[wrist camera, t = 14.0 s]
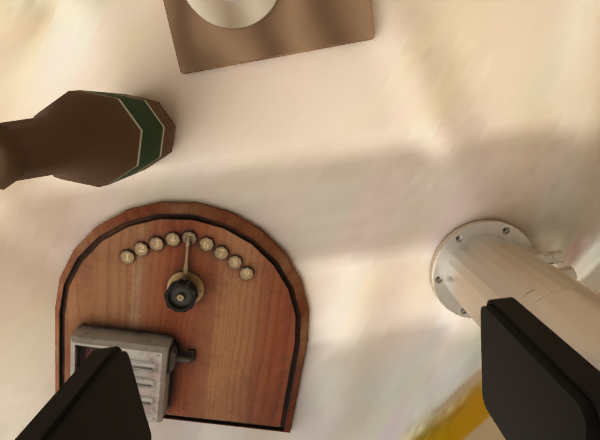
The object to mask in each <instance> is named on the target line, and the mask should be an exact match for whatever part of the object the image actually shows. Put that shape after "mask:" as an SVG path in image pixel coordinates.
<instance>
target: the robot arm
mask: <svg viewBox="0 0 600 440" xmlns="http://www.w3.org/2000/svg"><path fill="white" fill-rule="evenodd" d="M457 236H458V238H456V237H457ZM564 260H565V256H564V254H563V252H562V251H560V250H558V251H552V252H548V253H544V254H542V253H541V252H539V251H537V250H535V249H534V248H533V246H532V244H531V242H530V241H529V239H528V238H527V236H526V235H524V234H523V233H522V232H521V231H520V230H519V229H517V228H515V227H513V226H512V225H509V224H507V223H505V222H502V221H497V220H479V221H473V222H471V223H468V224H465V225H463V226H461V227H459V228H458V229H456V230H454V231H453V232H452V233H451V234H449V235H448V236H447V237H446V238H445V239H444V240H443V241H442V243H441V244H440V245H439V247H438V248H437V250H436V252H435V254H434V256H433V259H432V262H431V268H430V281H431V285H432V289H433V291H434V293H435V295H436V296H437V298H438V299H439V300H440V302H441V303H442V304H443V305H444V306H445V307H446V308H447V309H449V310H450V311H452V312H453V313H455V314H457V315H460V316H462V317H467V318H472V319H473V320H474V321H475V322H476V323H477V325H478V326H479V327H480V328H481V354H482V394H483V400H484V404H485V406H486V409H487V410H488V412H489V414H490V415H491V417H492V418H493V420H494V422H495V423H496V425H497V426H498V428H499V430H500V431H501V433H502V434H503V436H504V437H505V439H506V440H600V293H598V292H596V291H595V290H593V289H591V288H590V287H588V286H586V285H585V284H583V283H581V282H580V281H578V280H576V279H577V276H576V272H575V270H574V269H573V268H572V267H570V266H566V267H560V268H556V267H554V266H553V265H551V264H554V263H560V262H563V261H564ZM437 277H438V278H437ZM15 440H151V432H150V428H149V425H148V421H147V418H146V414H145V411H144V407H143V404H142V400H141V397H140V393H139V389H138V386H137V382H136V379H135V375H134V372H133V368H132V365H131V361H130V358H129V355H128V353H127V352H126V351H122V349H121V348H120V347H118V346H115V347H107V348H99V349H95V350H93V351H92V352H91V354H90V355H89V356H88V357H87V358H86V359H85V360H84V362H83V363H82V364H81V365H80V366H79V367H78V368H77V369H76V371H75V372H74V373H73V374H72V375H71V376H70V377H69V379H68V380H67V381H66V382H65V383H64V384H63V385H62V387H61V388H60V389H59V390H58V391H57V392H56V393H55V395H54V396H53V397H52V398H51V399H50V400H49V401H48V403H47V404H46V405H45V406H44V407H43V408H42V409H41V411H40V412H39V413H38V414H37V415H36V416H35V417H34V418H33V420H32V421H31V422H30V423H29V424H28V425H27V426H26V428H25V429H24V430H23V431H22V432H21V433H20V434H19V436H18V437H17V438H16V439H15Z"/></svg>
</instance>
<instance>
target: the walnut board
mask: <svg viewBox="0 0 600 440" xmlns="http://www.w3.org/2000/svg"><path fill="white" fill-rule="evenodd" d="M163 1H164V5H165V9H166V13H167V18H168V22H169V26H170V30H171V34H172V38H173V42H174V47H175V51H176V55H177V59H178V63H179V67H180V72H181V73H183V74H187V73H192V72H197V71H203V70H208V69H214V68H219V67H225V66H230V65H235V64H241V63H246V62H252V61H257V60H263V59H268V58H273V57H279V56H284V55H290V54H295V53H301V52H306V51H312V50H317V49H322V48H328V47H333V46H339V45H344V44H350V43H355V42H360V41H366V40H371V39H373V38H374V37H375V36H374V27H373V18H372V9H371V0H241V1H235V2H230V1H226V0H163Z"/></svg>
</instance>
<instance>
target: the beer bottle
mask: <svg viewBox="0 0 600 440" xmlns="http://www.w3.org/2000/svg"><path fill="white" fill-rule="evenodd" d="M174 130H175V125H174V123H173V122H172V120H171V119H170V118H169V116H168V115H167V113H166V112H165V110H164V109H163V108H162V106H161V105H160V103H159V102H156V101H152V100H148V99H143V98H139V97H134V96H130V95H126V94H117V93H105V92H94V91H83V90H77V91H68V92H67V93H65V94H64V95H62V96H61V97H60V98H58V99H57V100H56V101H54V102H53V103H51V104H50V105H49V106H47V107H46V108H45V109H43V110H42V111H40V112H39V113H38V114H37V115H35V116H34V118H31V119H24V120H17V121H10V122H3V123H0V189H3V190H4V189H5V188H7V187H8V186H10V185H11V184H13V183H14V182H15V181H18V180H24V179H30V178H36V177H42V176H48V175H53V176H54V177H56V178H59V179H63V180H68V181H72V182H77V183H82V184H87V185H92V186H96V187H101V186H105V185H109V184H112V183H114V182H116V181H119V180H121V179H124V178H126V177H128V176H131V175H133V174H135V173H138V172H140V171H143V170H145V169H147V168H148V167H150V166H151V165H153V164H154V163H156V162H157V161H159V160H160V159H162V158H163V157H165V156H166V155H168V154H169V153H171V152H172V145H173V138H174Z"/></svg>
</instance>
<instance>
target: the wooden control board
mask: <svg viewBox="0 0 600 440" xmlns="http://www.w3.org/2000/svg"><path fill="white" fill-rule="evenodd" d="M308 319H309V309H308V305H307V301H306V297H305V293H304V289H303V285H302V281H301V279H300V277H299V275H298V274H297V272H296V270H295V269H294V267H293V265H292V263H291V262H290V260H289V258H288V257H287V255H286V253H285V252H284V251H283V250H282V249H281V248H280V247H279V246H278V245H277V244H276V243H275V242H274V241H273V240H272V239H271V238H270V237H269V236H268V235H267V234H266V233H265V232H264V231H263V230H262V229H260V228H258V227H256V226H255V225H253V224H251V223H249V222H248V221H246V220H244V219H242V218H241V217H239V216H237V215H236V214H234V213H232V212H229V211H226V210H222V209H219V208H215V207H211V206H208V205H204V204H201V203H197V202H158V203H153V204H149V205H145V206H141V207H137V208H132V209H128V210H126V211H124V212H122V213H121V214H119V215H117V216H115V217H113V218H112V219H110V220H108V221H106V222H105V223H103V224H101V225H99V226H97V227H96V228H95V229H94V230H93V231H92V232H91V233H90V234H89V235H88V236H87V237H86V238H85V239H84V240H83V241H82V242H81V243H80V244H79V245H78V246H77V247H76V249H75V250H74V251H73V253H72V255H71V257H70V259H69V261H68V263H67V265H66V267H65V269H64V271H63V273H62V275H61V277H60V281H59V287H58V294H57V300H56V307H55V363H56V392H57V391H58V390H59V389H60V388H61V387H62V385H63V384H64V383H65V382H66V381H67V380H68V379H69V377H70V376H71V375H72V374H73V373H74V372H75V371H76V369H77V368H78V367H79V366H80V365H81V364H82V363H83V362H84V360H85V359H86V358H87V357H88V356H89V355H90V354H91V352H92V351H93V350H95V349H99V348H107V347H115V346H118V347H120V348H121V349H122V351H126V352H127V353H128V355H129V358H130V361H131V365H132V368H133V372H134V375H135V379H136V382H137V386H138V389H139V393H140V397H141V400H142V404H143V407H144V411H145V414H146V418H147V421H151V422H161V421H162V420H163V418H164V419H173V420H182V421H191V422H200V423H209V424H218V425H226V426H235V427H244V428H253V429H262V430H271V431H280V432H288V433H290V430H291V425H292V420H293V415H294V409H295V404H296V399H297V394H298V388H299V383H300V378H301V372H302V367H303V362H304V357H305V351H306V346H307V341H308Z"/></svg>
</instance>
